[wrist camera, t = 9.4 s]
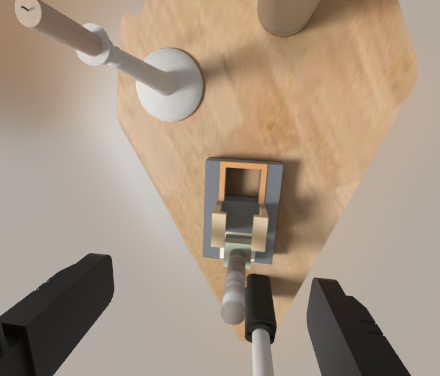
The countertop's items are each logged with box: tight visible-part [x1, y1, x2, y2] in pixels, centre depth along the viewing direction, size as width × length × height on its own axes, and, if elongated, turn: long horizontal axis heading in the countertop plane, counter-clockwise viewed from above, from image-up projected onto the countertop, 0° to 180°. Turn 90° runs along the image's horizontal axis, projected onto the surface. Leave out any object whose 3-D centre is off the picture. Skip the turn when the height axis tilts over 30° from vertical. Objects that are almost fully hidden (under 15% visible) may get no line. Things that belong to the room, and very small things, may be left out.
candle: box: [245, 274, 277, 376], centre depth 40 cm, size 5×5×25 cm
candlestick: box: [15, 0, 203, 122], centre depth 29 cm, size 13×13×30 cm
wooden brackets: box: [211, 200, 268, 252], centre depth 41 cm, size 6×9×7 cm, turn 87°
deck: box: [203, 158, 283, 264], centre depth 46 cm, size 20×14×4 cm
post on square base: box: [221, 234, 252, 325], centre depth 37 cm, size 5×5×18 cm
